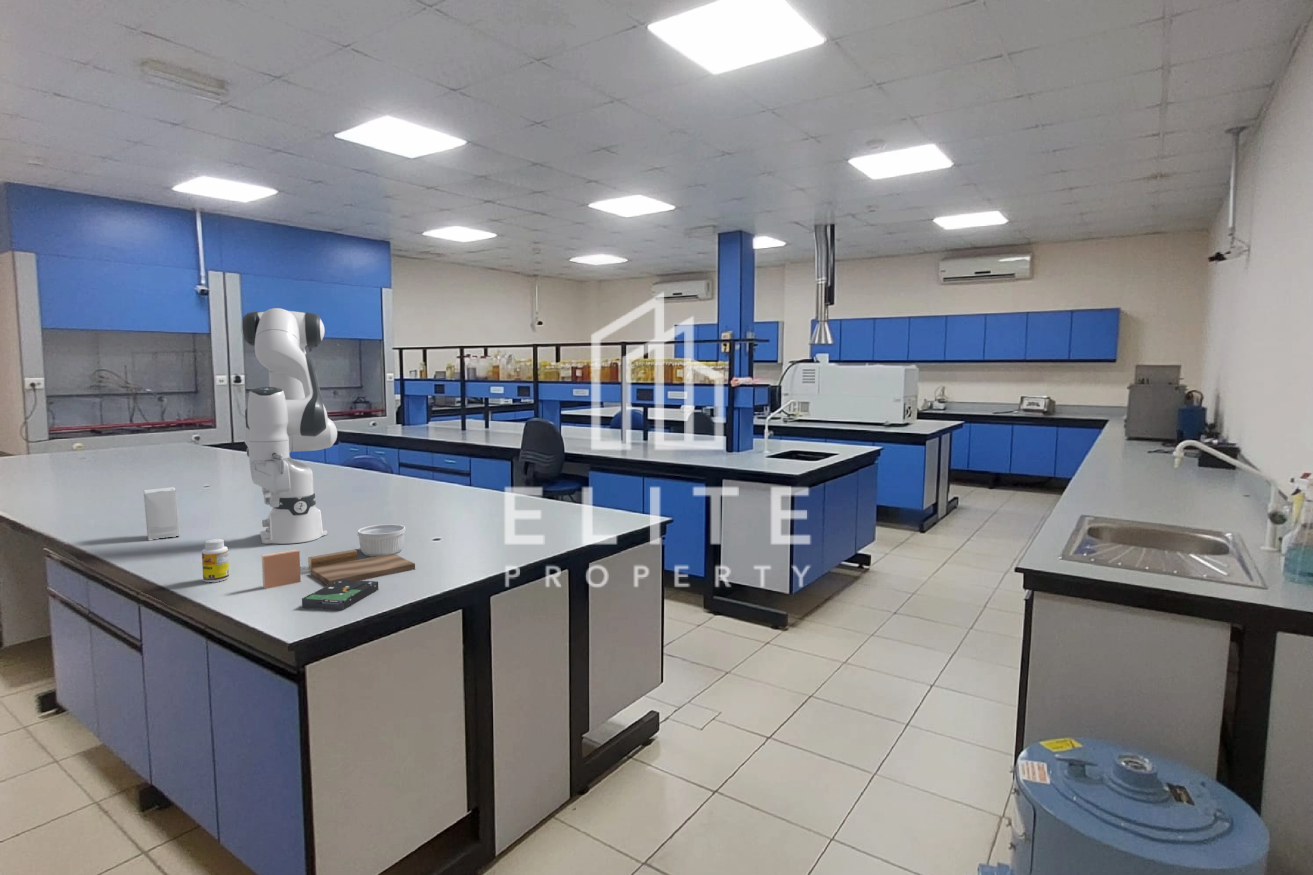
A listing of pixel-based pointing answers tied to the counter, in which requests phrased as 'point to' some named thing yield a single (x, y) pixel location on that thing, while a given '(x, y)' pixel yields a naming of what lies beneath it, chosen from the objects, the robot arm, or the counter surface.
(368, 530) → the ramekin
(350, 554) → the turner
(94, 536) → the counter surface
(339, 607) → the disk drive
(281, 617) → the counter surface
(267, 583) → the tile
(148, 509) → the skincare box
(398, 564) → the board
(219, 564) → the supplement bottle
